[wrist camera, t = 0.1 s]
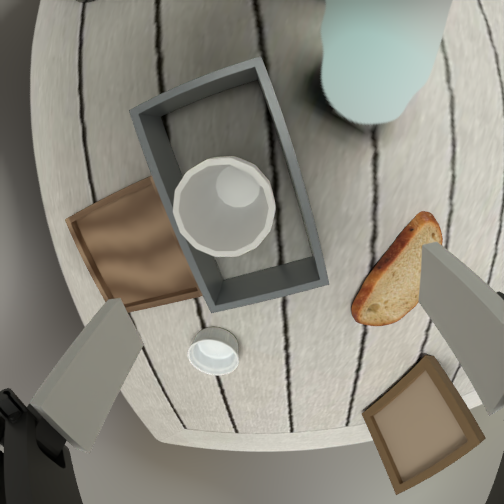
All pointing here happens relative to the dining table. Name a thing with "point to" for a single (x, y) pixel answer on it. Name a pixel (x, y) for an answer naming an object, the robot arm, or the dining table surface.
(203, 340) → the ramekin
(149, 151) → the deep open rectangular frame
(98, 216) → the walnut tray
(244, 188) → the foam cup
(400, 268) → the bread slice
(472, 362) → the robot arm
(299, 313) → the dining table surface
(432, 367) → the photo frame
